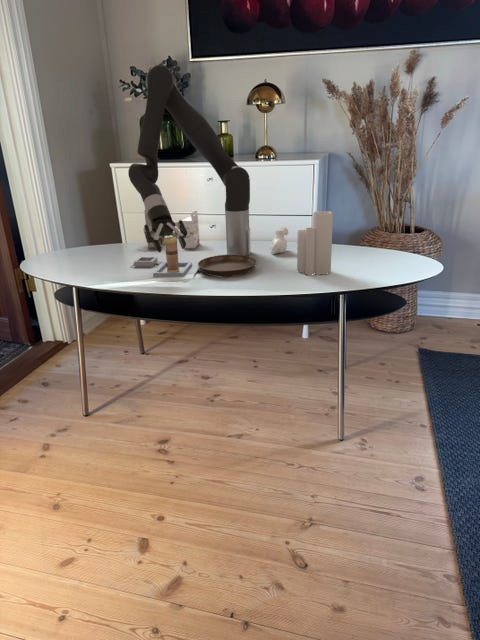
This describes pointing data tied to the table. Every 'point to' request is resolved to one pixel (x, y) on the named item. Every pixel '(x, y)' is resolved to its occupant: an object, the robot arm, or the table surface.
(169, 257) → the cylinder
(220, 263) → the plant saucer
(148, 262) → the fuse block
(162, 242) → the coffee box
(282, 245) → the bust
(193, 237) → the ink cartridge box
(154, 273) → the parts tray
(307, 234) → the vase
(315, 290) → the table surface
